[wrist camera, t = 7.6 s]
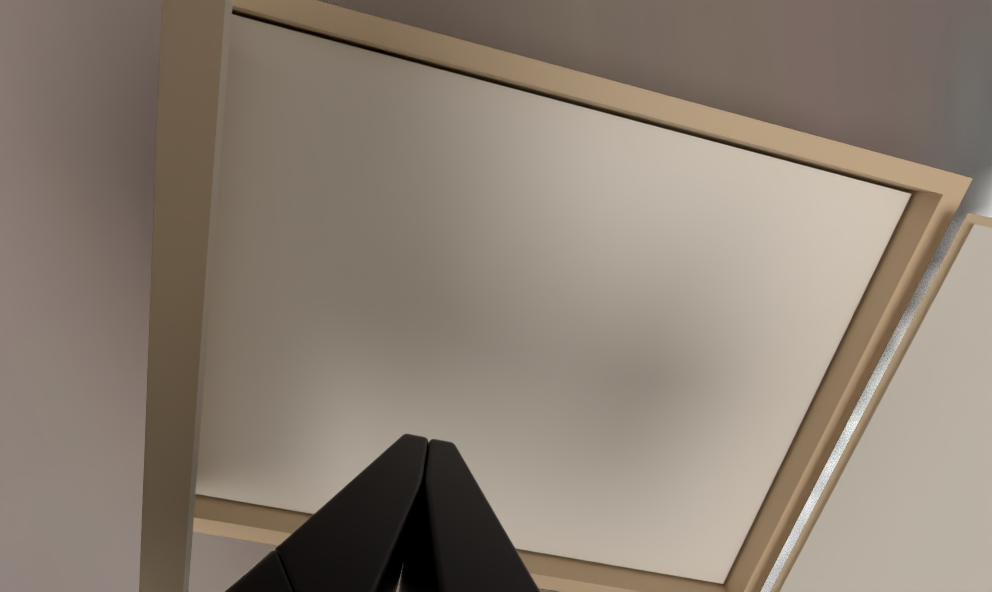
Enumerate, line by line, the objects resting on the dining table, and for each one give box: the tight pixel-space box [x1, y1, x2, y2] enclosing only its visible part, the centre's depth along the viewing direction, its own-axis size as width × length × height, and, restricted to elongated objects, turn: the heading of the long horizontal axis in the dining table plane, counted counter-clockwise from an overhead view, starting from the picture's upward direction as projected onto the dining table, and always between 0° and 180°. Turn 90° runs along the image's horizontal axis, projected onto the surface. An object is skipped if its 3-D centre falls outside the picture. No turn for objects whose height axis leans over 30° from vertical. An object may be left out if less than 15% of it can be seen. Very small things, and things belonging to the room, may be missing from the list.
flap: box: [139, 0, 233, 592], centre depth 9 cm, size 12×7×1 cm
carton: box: [193, 0, 973, 592], centre depth 16 cm, size 14×18×6 cm
